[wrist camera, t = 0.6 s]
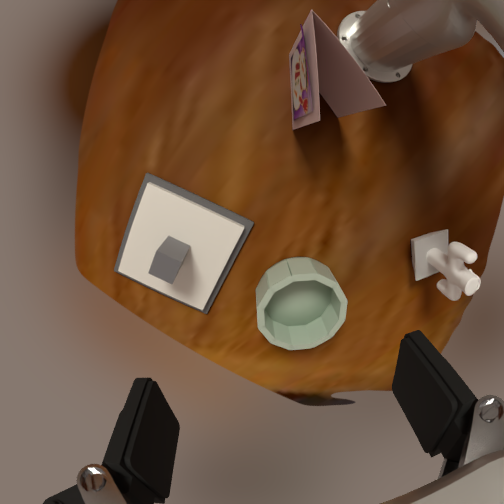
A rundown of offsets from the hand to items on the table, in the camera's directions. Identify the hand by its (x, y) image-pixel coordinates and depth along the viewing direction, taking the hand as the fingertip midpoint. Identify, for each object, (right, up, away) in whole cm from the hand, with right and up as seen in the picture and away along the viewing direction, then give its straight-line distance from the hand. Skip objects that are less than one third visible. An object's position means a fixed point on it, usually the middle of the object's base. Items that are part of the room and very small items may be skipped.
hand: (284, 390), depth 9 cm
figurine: (+28, +6, +33) cm, 44 cm away
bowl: (+6, -2, +35) cm, 36 cm away
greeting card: (+7, +27, +24) cm, 37 cm away
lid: (-12, +6, +32) cm, 34 cm away
